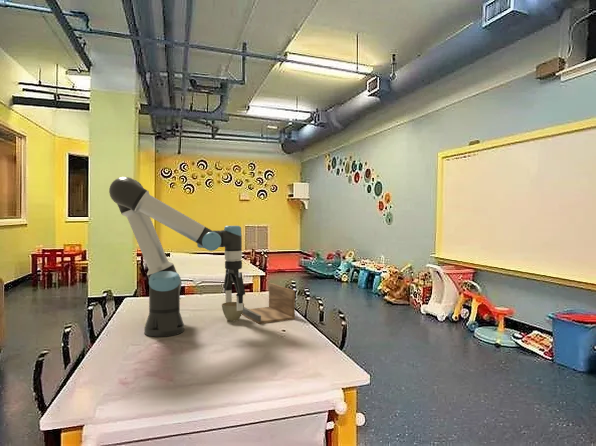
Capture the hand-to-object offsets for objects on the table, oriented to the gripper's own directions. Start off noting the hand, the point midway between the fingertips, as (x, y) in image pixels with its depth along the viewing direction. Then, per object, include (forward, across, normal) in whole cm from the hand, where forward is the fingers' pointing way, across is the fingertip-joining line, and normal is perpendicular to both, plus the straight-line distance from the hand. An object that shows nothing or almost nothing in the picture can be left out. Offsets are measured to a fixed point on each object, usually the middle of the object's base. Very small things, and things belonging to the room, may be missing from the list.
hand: (234, 307), depth 186 cm
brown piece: (+6, 0, -15) cm, 16 cm away
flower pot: (+6, 0, +1) cm, 6 cm away
